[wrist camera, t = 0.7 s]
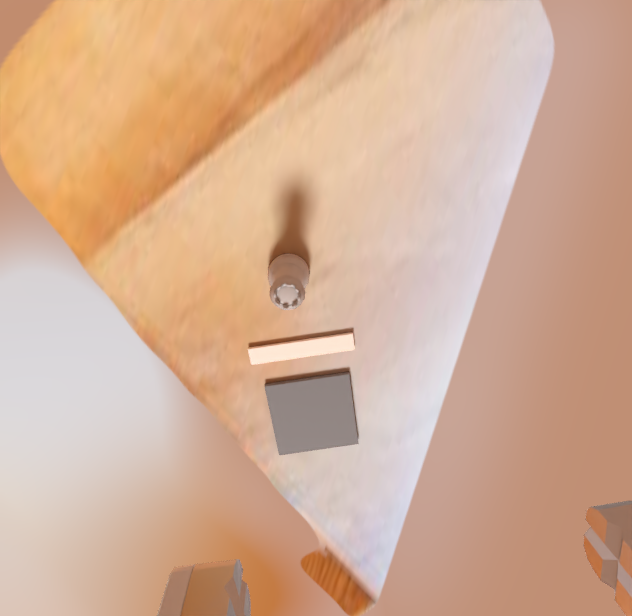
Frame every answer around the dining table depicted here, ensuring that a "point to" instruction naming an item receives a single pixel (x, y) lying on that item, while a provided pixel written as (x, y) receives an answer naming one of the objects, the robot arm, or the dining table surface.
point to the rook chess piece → (288, 281)
